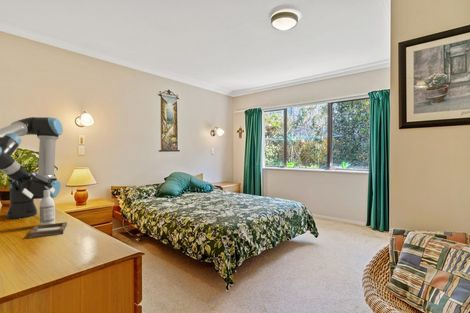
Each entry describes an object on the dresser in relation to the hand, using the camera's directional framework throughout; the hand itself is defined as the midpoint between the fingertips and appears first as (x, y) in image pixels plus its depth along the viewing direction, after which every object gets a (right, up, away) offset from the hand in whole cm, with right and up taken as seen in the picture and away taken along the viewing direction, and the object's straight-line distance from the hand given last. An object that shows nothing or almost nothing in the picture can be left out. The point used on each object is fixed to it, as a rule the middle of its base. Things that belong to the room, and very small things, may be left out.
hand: (42, 194), depth 145 cm
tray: (+15, -17, -15) cm, 27 cm away
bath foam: (+6, -17, -4) cm, 19 cm away
